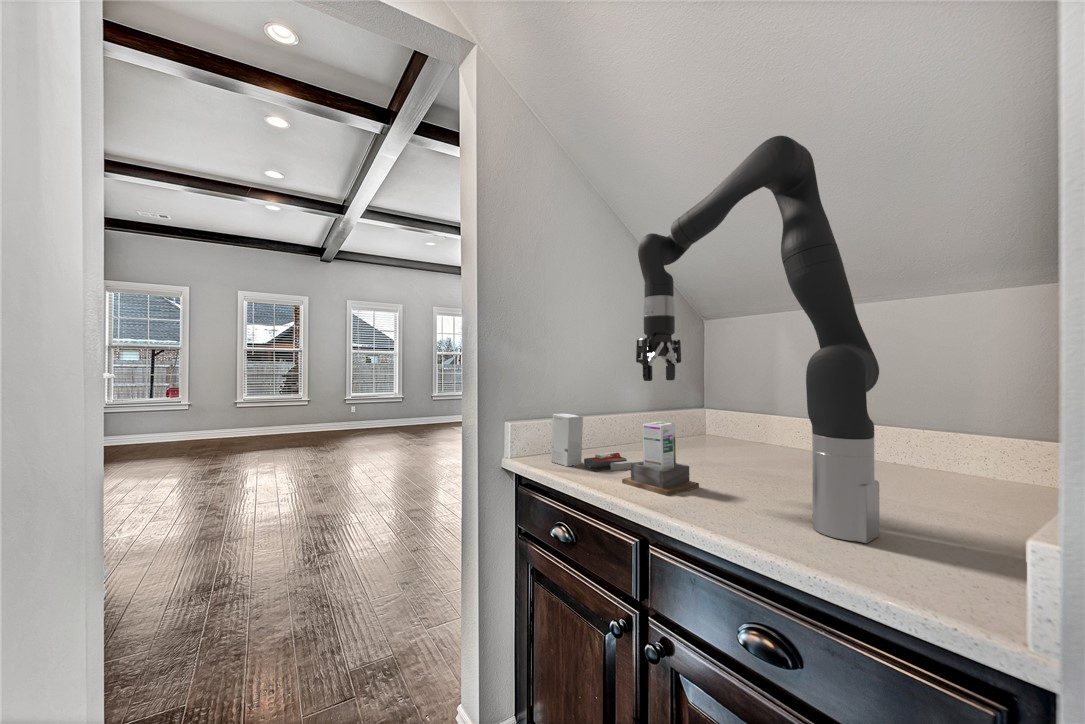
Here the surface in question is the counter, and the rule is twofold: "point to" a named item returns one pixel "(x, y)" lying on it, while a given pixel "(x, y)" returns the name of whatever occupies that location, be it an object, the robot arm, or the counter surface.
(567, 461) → the skincare box
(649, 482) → the holder
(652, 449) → the syrup box
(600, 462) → the walkie-talkie
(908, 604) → the counter surface
